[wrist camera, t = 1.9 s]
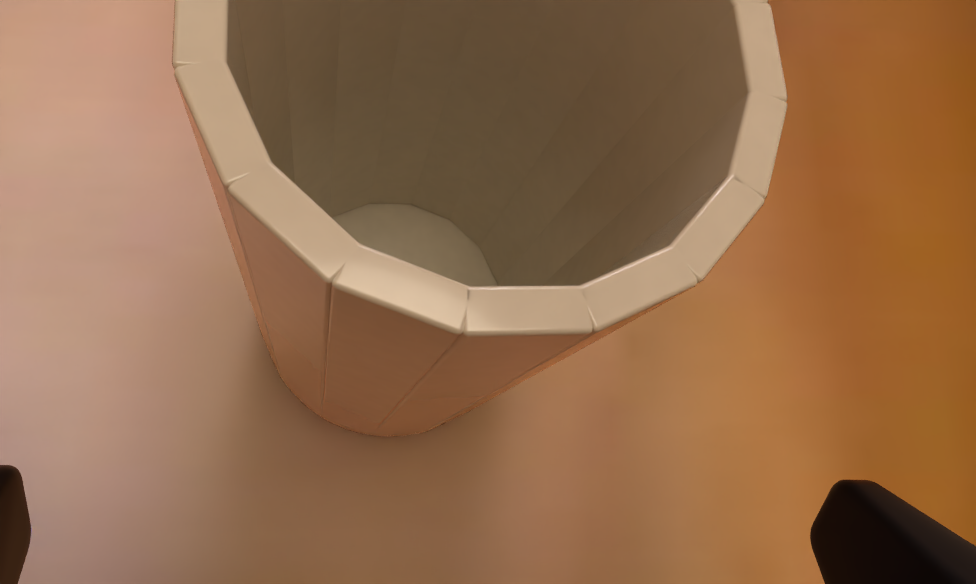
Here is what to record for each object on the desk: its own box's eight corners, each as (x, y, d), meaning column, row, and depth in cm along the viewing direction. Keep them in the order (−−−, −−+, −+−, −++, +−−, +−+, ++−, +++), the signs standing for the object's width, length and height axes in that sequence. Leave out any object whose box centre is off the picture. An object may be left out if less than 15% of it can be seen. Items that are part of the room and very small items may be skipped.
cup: (549, 372, 21) (886, 195, 8) (324, 481, 19) (340, 454, 6) (447, 167, 22) (619, -261, 9) (223, 248, 20) (70, -162, 7)
